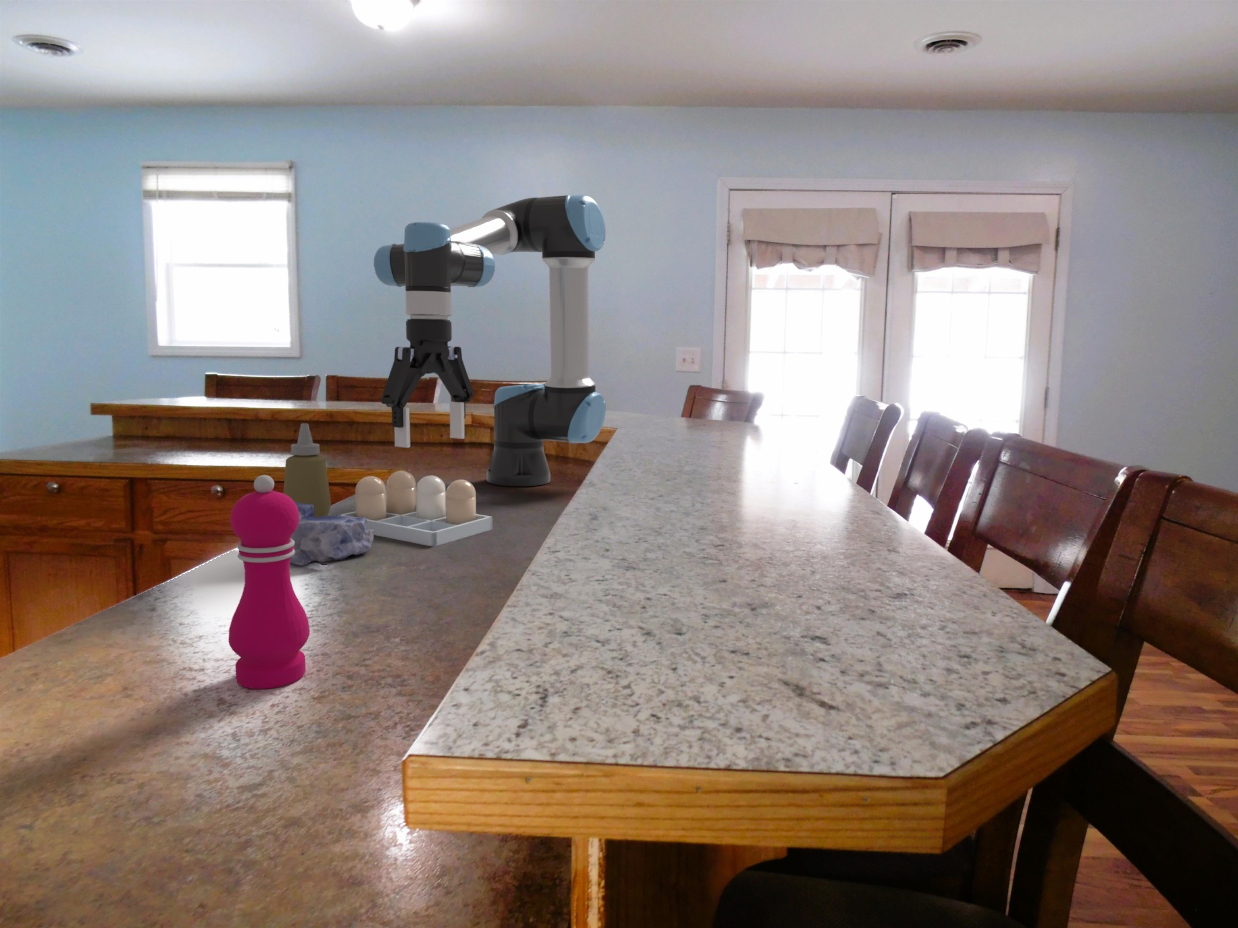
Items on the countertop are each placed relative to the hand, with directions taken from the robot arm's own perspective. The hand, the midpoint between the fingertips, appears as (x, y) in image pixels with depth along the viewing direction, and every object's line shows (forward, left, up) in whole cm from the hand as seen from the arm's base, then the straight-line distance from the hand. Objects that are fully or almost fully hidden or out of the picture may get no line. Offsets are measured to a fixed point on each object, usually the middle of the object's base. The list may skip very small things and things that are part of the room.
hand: (431, 442), depth 137 cm
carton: (+4, 0, -15) cm, 16 cm away
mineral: (+25, +1, -16) cm, 29 cm away
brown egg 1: (+7, -7, -15) cm, 18 cm away
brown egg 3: (0, +7, -15) cm, 16 cm away
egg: (0, 0, -15) cm, 15 cm away
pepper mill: (+55, +30, -16) cm, 65 cm away
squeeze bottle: (+11, -19, -16) cm, 27 cm away
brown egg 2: (0, -7, -15) cm, 16 cm away
